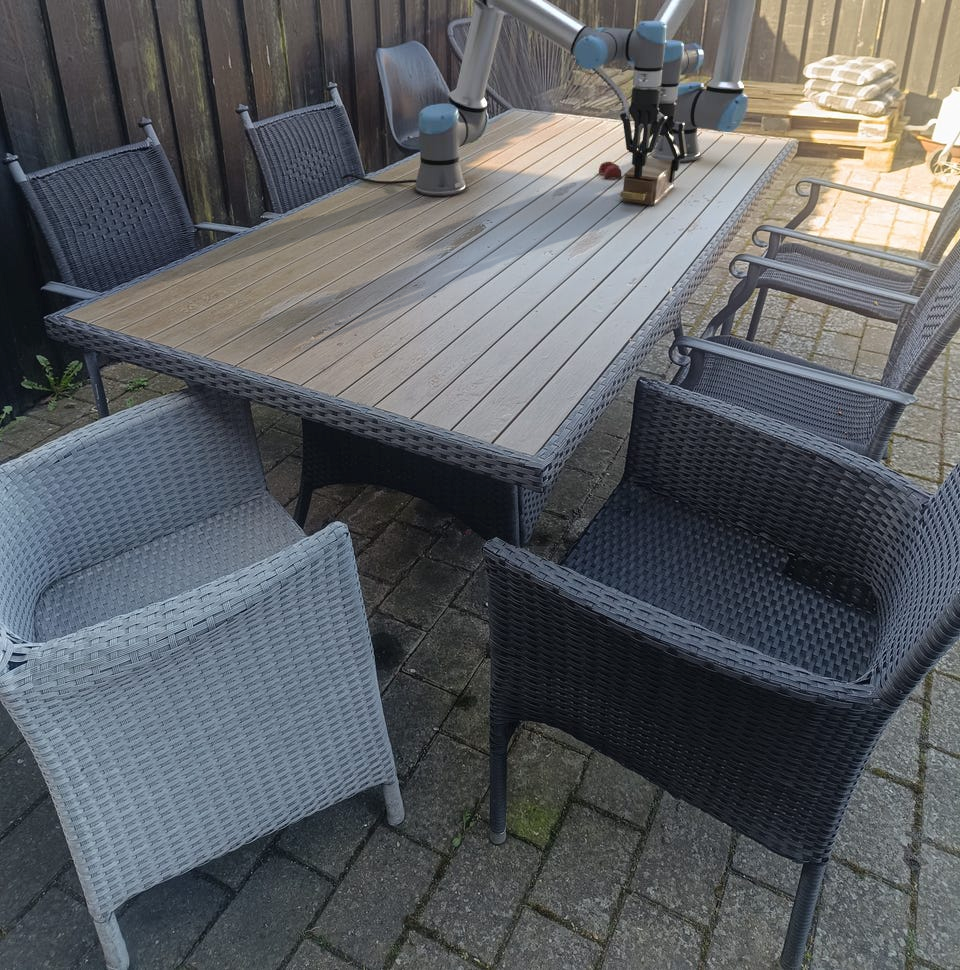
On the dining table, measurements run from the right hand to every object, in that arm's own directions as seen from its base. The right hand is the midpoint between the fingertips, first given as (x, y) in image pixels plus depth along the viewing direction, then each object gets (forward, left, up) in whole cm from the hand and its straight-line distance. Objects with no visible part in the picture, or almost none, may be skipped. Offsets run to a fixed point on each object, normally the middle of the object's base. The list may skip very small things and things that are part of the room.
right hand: (654, 179), depth 257 cm
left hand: (+19, -1, +6) cm, 20 cm away
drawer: (+11, -1, -2) cm, 11 cm away
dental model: (-9, -16, -3) cm, 19 cm away
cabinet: (+5, 0, -3) cm, 6 cm away
